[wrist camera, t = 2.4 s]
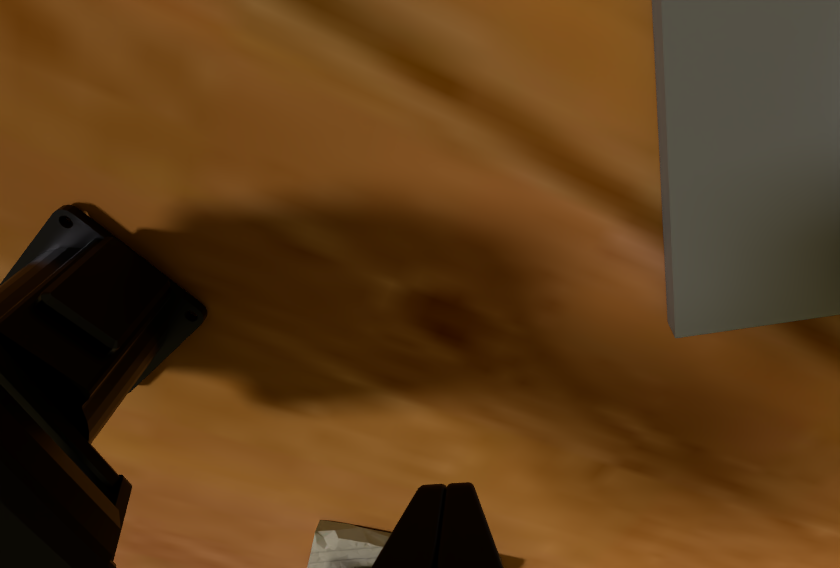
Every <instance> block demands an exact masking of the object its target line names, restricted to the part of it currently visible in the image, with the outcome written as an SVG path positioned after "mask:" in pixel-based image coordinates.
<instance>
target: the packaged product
mask: <svg viewBox="0 0 840 568" xmlns="http://www.w3.org/2000/svg"><path fill="white" fill-rule="evenodd" d="M390 535H391V533H388V532H382V531H377V530H372V529H367V528H361V527H358V526H355V525H351V524H345V523H338V522H331V521H324V520H320V521H319V524H318V526H317V529H316V531H315V536H314V540H313V545H312V549H311V554H310V558H309V563H308V567H307V568H371V567H372V565H373V563H374V562H375V560H376V558H377V557H378V555H379V553H380V552H381V550H382V548H383V547H384V545H385V543H386V542H387V540H388V538H389V537H390ZM500 559H501V557H500ZM501 562H502V561H501Z"/></svg>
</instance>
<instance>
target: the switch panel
mask: <svg viewBox="0 0 840 568" xmlns="http://www.w3.org/2000/svg"><path fill="white" fill-rule="evenodd" d="M652 11H653V31H654V51H655V72H656V92H657V113H658V133H659V153H660V174H661V194H662V214H663V235H664V255H665V276H666V296H667V316H668V324H669V326H670V328H671V330H672V332H673V334H674V336H675V338H681V337H688V336H694V335H701V334H708V333H715V332H722V331H729V330H736V329H743V328H750V327H757V326H764V325H771V324H778V323H785V322H791V321H798V320H805V319H812V318H819V317H826V316H833V315H840V0H652Z"/></svg>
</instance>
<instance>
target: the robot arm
mask: <svg viewBox="0 0 840 568" xmlns="http://www.w3.org/2000/svg"><path fill="white" fill-rule="evenodd" d="M66 216H67V217H69V218H70V219H71V220H72V222H73V223H71V222H69V221H68V220H67V219H66ZM189 311H192V312H194V313H195V314H196V315H197V316H194V315H192V314H191V313H190V312H189ZM206 316H207V309H206V307H205V306H204V305H203V304H202V303H201V302H199V301H198V300H197V299H195V298H194V297H193V296H192V295H190V294H189V293H188V292H186V291H185V290H184V289H182V288H181V287H180V286H179V285H177V284H176V283H175V282H173V281H172V280H171V279H169V278H168V277H167V276H166V275H164V274H163V273H162V272H160V271H159V270H158V269H156V268H155V267H154V266H152V265H151V264H150V263H149V262H147V261H146V260H145V259H143V258H142V257H141V256H139V255H138V254H137V253H136V252H134V251H133V250H132V249H130V248H129V247H128V246H126V245H125V244H124V243H123V242H121V241H120V240H119V239H117V238H116V237H115V236H113V235H112V234H111V233H109V232H108V231H107V230H106V229H104V228H103V227H102V226H100V225H99V224H98V223H96V222H95V221H94V220H93V219H91V218H90V217H89V216H87V215H86V214H85V213H83V212H82V211H81V210H80V209H78V208H76V207H75V206H72V205H63V206H62V207H60V208H59V209H58V210H56V211H55V212H54V213H53V214H52V215H51V217H50V218H49V219H48V221H47V222H46V223H45V225H44V226H43V227H42V229H41V230H40V231H39V233H38V234H37V235H36V237H35V238H34V239H33V241H32V242H31V243H30V245H29V246H28V247H27V249H26V250H25V251H24V253H23V254H22V255H21V257H20V258H19V260H18V261H17V262H16V264H15V265H14V266H13V268H12V269H11V270H10V272H9V273H8V274H7V276H6V277H5V278H4V280H3V281H2V282H1V284H0V568H116V564H115V563H114V562H113V560H114V556H115V552H116V548H117V544H118V540H119V536H120V533H121V529H122V525H123V521H124V517H125V513H126V509H127V505H128V501H129V497H130V493H131V489H132V485H131V484H130V483H129V482H128V480H127V479H126V478H125V477H124V476H123V475H118V474H117V473H116V472H115V471H114V469H113V468H112V467H111V466H110V465H109V464H108V463H107V462H106V461H105V459H104V458H103V457H102V456H101V455H100V454H99V453H98V452H97V451H96V449H95V448H94V447H93V446H92V445H91V443H92V442H93V440H94V439H95V438H96V436H97V435H98V433H99V432H100V431H101V429H102V428H103V427H104V425H105V424H106V422H107V421H108V420H109V418H110V417H111V416H112V414H113V413H114V412H115V410H116V409H117V407H118V406H119V405H120V403H121V402H122V401H123V399H124V398H125V396H126V395H127V394H128V393H130V392H131V391H132V390H133V389H134V388H135V387H136V386H137V385H138V384H139V383H140V382H141V381H142V380H143V379H145V378H146V377H147V376H148V375H149V374H150V373H151V372H152V371H153V370H154V369H155V368H156V367H157V366H158V365H159V364H160V363H161V362H162V361H163V360H164V359H165V358H166V357H168V356H169V355H170V354H171V353H172V352H173V351H174V350H175V349H176V348H177V347H178V346H179V345H180V344H181V343H182V342H183V341H184V340H185V339H186V338H187V337H188V336H190V335H191V334H192V333H193V332H194V331H195V330H196V329H197V328H198V327H199V326H200V325H201V324H202V323H203V321H204V320H205V318H206ZM371 568H503V565H502V562H501V559H500V557H499V554H498V551H497V548H496V546H495V543H494V540H493V537H492V534H491V532H490V529H489V526H488V523H487V521H486V518H485V515H484V512H483V510H482V507H481V504H480V501H479V499H478V496H477V493H476V490H475V488H474V486H473V484H472V483H469V482H467V483H451V484H449V485H448V486H447V487H446V485H444V484H430V485H422V486H421V487H419V488H418V490H417V491H416V493H415V495H414V496H413V498H412V500H411V501H410V503H409V505H408V506H407V508H406V510H405V511H404V513H403V515H402V516H401V518H400V520H399V522H398V523H397V525H396V527H395V528H394V530H393V532H392V533H391V535H390V537H389V538H388V540H387V542H386V543H385V545H384V547H383V548H382V550H381V552H380V553H379V555H378V557H377V558H376V560H375V562H374V563H373V565H372V567H371Z"/></svg>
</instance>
